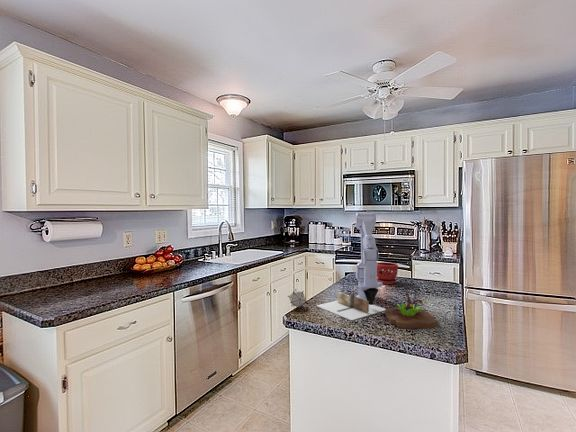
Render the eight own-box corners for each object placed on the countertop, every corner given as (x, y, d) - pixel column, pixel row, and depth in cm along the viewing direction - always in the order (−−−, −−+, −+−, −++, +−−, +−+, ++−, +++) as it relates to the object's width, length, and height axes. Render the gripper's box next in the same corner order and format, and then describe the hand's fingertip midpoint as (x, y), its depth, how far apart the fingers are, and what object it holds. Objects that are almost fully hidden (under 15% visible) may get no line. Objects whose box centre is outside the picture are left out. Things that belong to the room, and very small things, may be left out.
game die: (296, 316, 145) (286, 302, 140) (291, 304, 152) (282, 291, 148) (312, 306, 145) (304, 292, 140) (307, 295, 153) (298, 281, 148)
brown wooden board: (353, 307, 143) (353, 297, 143) (355, 307, 144) (355, 296, 144) (367, 312, 137) (367, 301, 137) (368, 312, 137) (368, 301, 137)
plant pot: (400, 285, 186) (400, 265, 186) (378, 285, 186) (378, 265, 186) (393, 280, 199) (393, 261, 199) (373, 280, 199) (373, 261, 199)
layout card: (350, 297, 161) (350, 297, 161) (387, 310, 142) (387, 309, 142) (316, 306, 148) (316, 305, 148) (351, 320, 129) (351, 319, 129)
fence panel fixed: (355, 307, 144) (355, 294, 144) (352, 308, 143) (352, 294, 143) (339, 302, 153) (339, 289, 153) (337, 302, 152) (337, 289, 152)
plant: (422, 312, 140) (422, 287, 140) (444, 329, 121) (444, 300, 120) (378, 312, 140) (378, 287, 140) (393, 329, 120) (393, 300, 120)
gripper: (366, 278, 135) (366, 309, 135) (387, 274, 143) (387, 303, 143) (354, 275, 141) (354, 305, 141) (375, 271, 149) (375, 299, 149)
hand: (370, 304), depth 143 cm, fingers closed
